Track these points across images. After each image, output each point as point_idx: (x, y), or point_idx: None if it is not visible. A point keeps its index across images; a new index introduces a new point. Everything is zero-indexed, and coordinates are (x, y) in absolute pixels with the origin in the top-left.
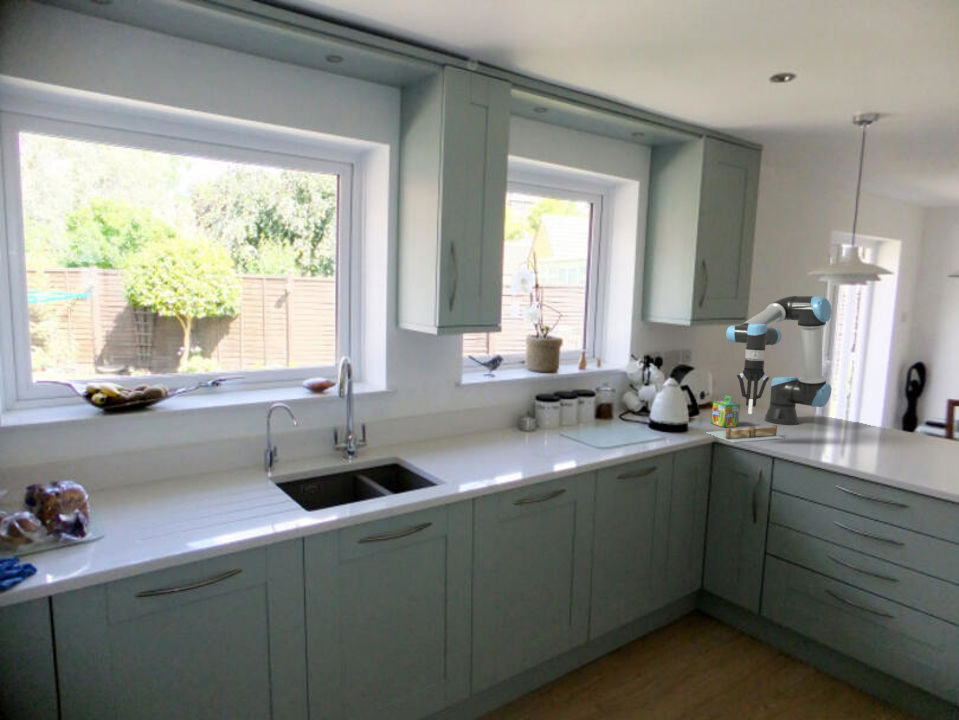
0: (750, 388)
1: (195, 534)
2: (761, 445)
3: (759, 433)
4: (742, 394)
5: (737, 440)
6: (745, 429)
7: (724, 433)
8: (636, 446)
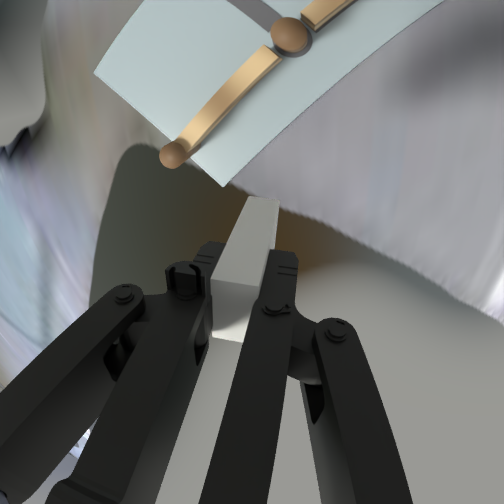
0: (168, 432)
1: (79, 454)
2: (343, 176)
3: (333, 13)
4: (123, 349)
5: (234, 150)
6: (254, 77)
7: (161, 40)
8: (60, 328)
